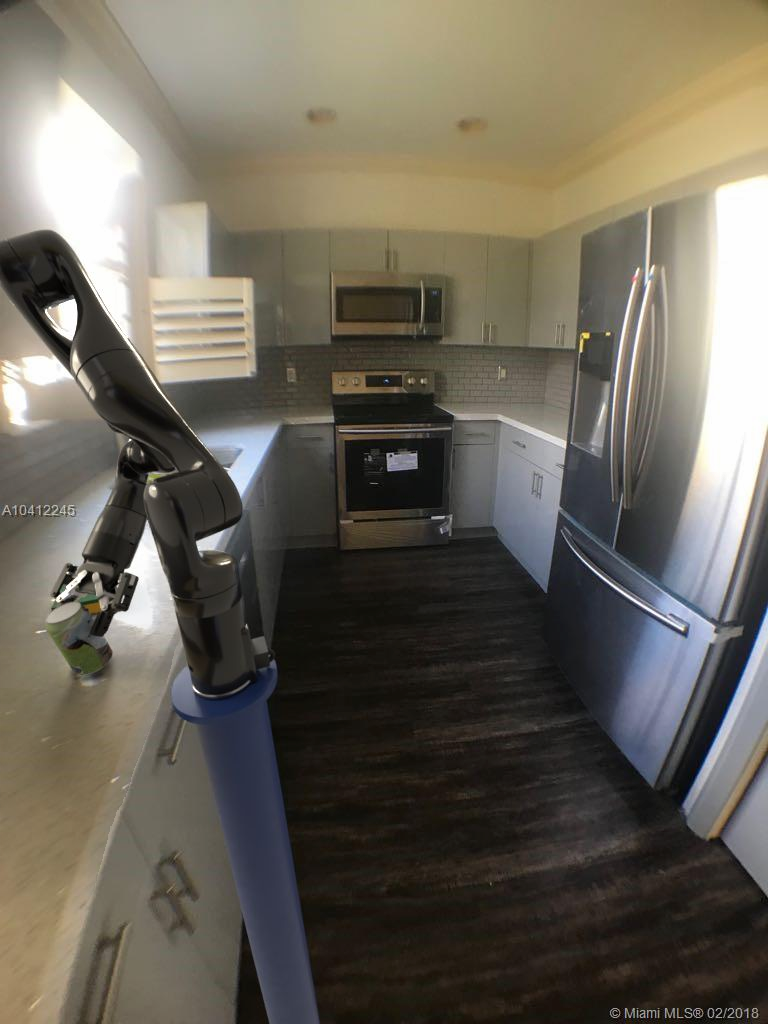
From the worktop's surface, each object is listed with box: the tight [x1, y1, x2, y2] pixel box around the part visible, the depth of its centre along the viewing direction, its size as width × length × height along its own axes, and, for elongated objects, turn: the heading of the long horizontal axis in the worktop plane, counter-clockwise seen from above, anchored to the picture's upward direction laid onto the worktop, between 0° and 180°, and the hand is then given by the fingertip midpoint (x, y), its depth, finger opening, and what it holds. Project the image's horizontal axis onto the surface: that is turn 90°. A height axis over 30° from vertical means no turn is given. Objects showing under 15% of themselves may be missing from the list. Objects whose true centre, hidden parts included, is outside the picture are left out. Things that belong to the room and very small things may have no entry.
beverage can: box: [45, 602, 114, 676], centre depth 74 cm, size 6×7×12 cm
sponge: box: [50, 584, 102, 615], centre depth 95 cm, size 8×11×3 cm
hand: (75, 631), depth 73 cm, fingers open, 8 cm apart
